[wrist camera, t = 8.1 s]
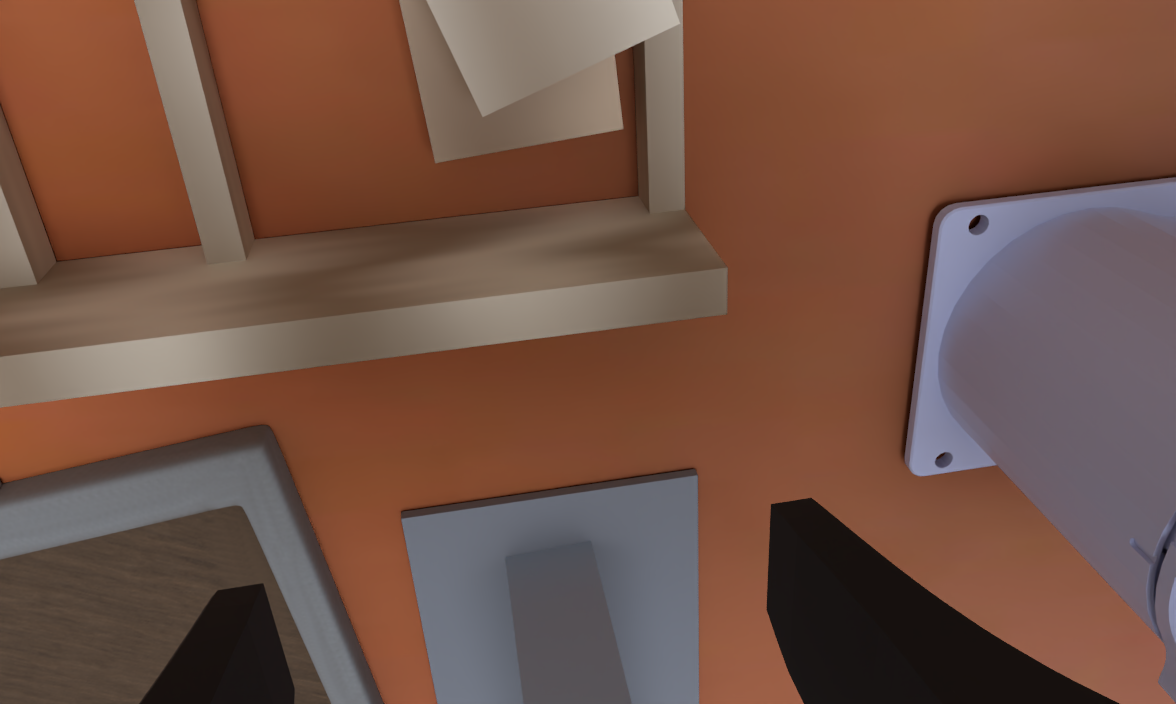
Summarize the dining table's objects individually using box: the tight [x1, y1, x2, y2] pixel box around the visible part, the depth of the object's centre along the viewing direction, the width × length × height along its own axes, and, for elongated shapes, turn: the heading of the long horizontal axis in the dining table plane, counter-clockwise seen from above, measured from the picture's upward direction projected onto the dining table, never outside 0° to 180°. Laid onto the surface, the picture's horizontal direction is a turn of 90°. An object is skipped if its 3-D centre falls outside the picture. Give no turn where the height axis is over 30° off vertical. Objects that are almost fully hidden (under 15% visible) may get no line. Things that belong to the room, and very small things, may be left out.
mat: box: [401, 469, 699, 704], centre depth 28 cm, size 8×12×1 cm, turn 4°
